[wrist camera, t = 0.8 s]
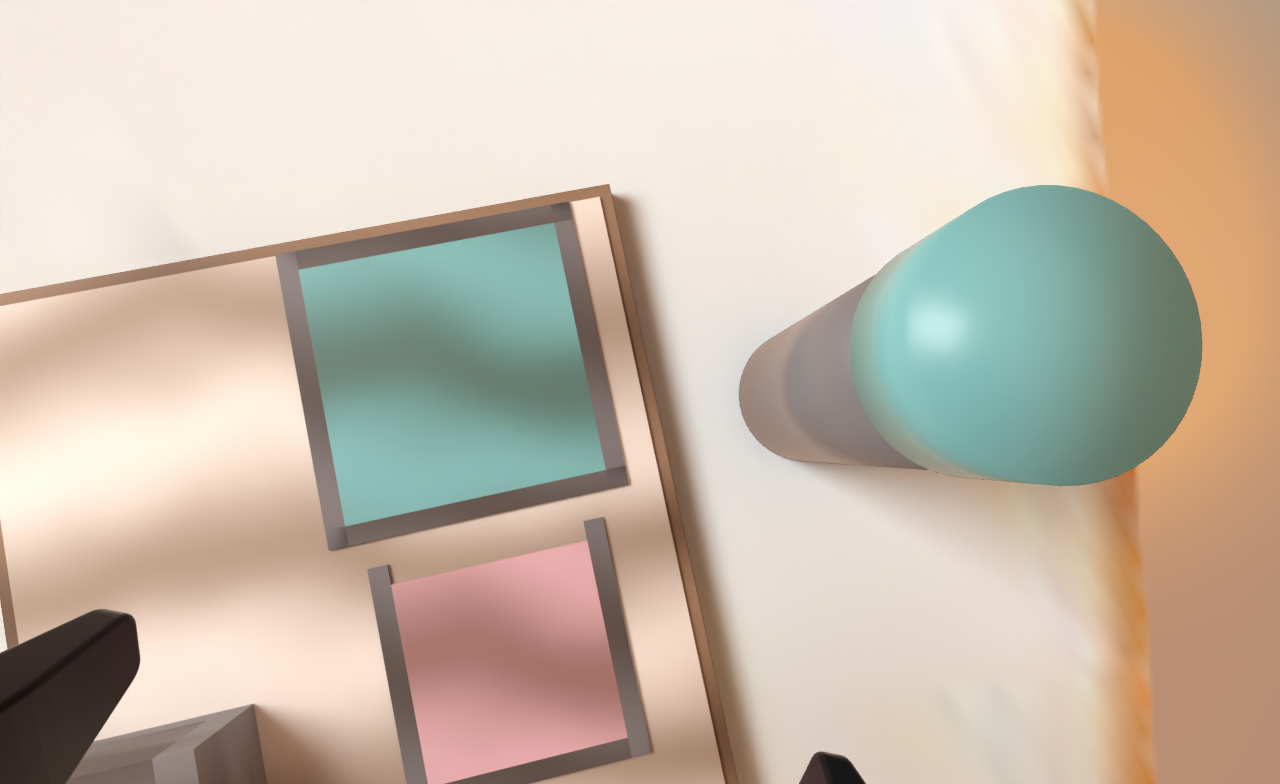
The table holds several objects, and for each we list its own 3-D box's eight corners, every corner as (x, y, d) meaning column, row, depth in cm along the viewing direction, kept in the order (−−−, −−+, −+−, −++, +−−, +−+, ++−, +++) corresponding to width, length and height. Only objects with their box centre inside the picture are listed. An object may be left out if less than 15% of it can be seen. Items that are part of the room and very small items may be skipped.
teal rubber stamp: (884, 447, 23) (1236, 449, 10) (753, 477, 22) (952, 515, 10) (853, 315, 23) (1158, 161, 11) (722, 342, 23) (880, 214, 10)
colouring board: (738, 796, 21) (770, 873, 18) (79, 969, 20) (-46, 1096, 16) (608, 193, 23) (611, 141, 19) (-20, 307, 21) (-159, 276, 17)
